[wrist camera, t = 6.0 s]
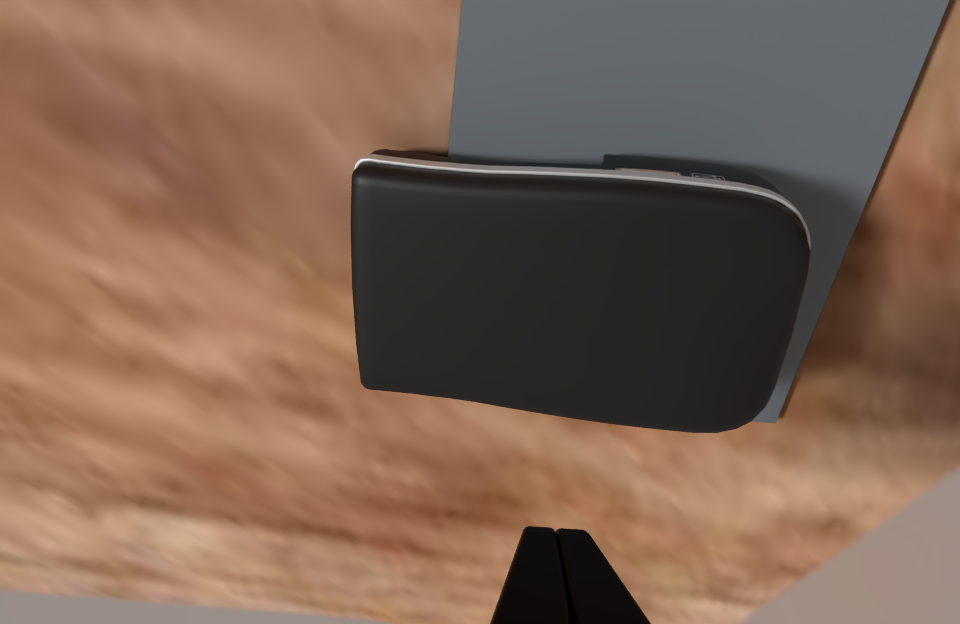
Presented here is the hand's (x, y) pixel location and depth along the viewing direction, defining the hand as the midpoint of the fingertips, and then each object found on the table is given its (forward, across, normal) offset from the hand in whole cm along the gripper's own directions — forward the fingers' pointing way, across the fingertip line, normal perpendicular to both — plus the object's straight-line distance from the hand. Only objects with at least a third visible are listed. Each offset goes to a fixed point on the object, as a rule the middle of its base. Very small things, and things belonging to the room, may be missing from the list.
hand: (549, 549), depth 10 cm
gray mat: (+13, -4, -1) cm, 14 cm away
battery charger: (+12, +4, +2) cm, 13 cm away
